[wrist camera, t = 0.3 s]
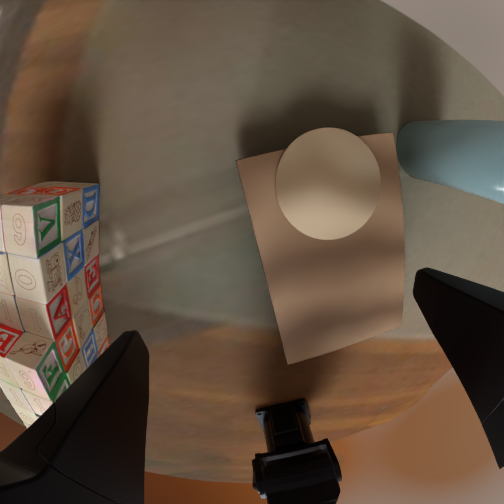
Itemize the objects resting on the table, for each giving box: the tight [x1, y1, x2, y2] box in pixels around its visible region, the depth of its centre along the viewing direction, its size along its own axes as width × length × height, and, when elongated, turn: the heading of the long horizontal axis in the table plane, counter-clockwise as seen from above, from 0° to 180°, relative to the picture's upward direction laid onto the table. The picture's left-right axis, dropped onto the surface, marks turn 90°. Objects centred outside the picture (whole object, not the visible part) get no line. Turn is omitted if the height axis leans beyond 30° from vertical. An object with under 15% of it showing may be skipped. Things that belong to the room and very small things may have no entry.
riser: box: [235, 127, 405, 365], centre depth 21 cm, size 19×12×3 cm, turn 14°
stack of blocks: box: [0, 181, 110, 428], centre depth 17 cm, size 21×6×12 cm, turn 171°
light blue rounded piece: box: [397, 120, 504, 204], centre depth 15 cm, size 6×6×12 cm
